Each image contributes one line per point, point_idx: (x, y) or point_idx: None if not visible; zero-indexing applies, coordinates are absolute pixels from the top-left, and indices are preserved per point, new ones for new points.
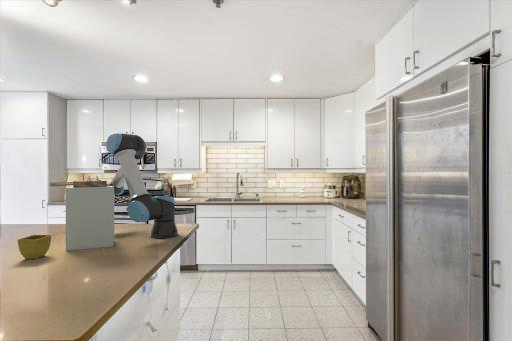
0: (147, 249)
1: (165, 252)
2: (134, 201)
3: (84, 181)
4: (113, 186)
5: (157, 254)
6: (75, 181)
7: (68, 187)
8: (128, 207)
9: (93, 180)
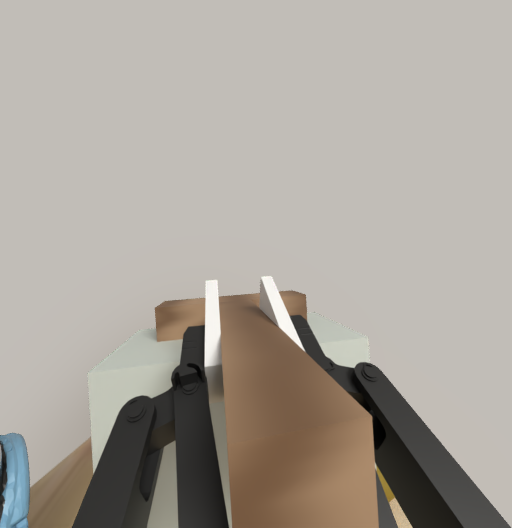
0: (62, 521)
1: (45, 479)
2: (19, 434)
3: (252, 294)
4: (115, 351)
5: (74, 466)
6: (285, 291)
7: (323, 318)
8: (28, 503)
9: (242, 316)
